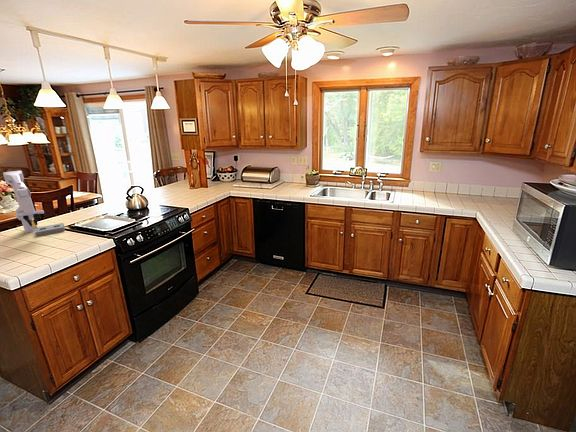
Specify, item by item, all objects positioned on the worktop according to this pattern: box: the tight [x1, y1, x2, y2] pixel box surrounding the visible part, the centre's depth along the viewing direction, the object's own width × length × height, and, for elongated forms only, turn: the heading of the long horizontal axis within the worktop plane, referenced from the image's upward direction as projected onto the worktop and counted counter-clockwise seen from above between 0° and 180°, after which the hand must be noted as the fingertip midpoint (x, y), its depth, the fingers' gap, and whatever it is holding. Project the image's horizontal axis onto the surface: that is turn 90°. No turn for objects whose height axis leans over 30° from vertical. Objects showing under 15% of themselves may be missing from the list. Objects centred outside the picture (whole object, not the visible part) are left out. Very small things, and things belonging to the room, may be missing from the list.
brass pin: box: [30, 219, 38, 229], centre depth 201 cm, size 2×2×6 cm
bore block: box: [34, 222, 65, 237], centre depth 216 cm, size 12×16×3 cm
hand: (33, 225), depth 202 cm, fingers closed on brass pin, 2 cm apart
